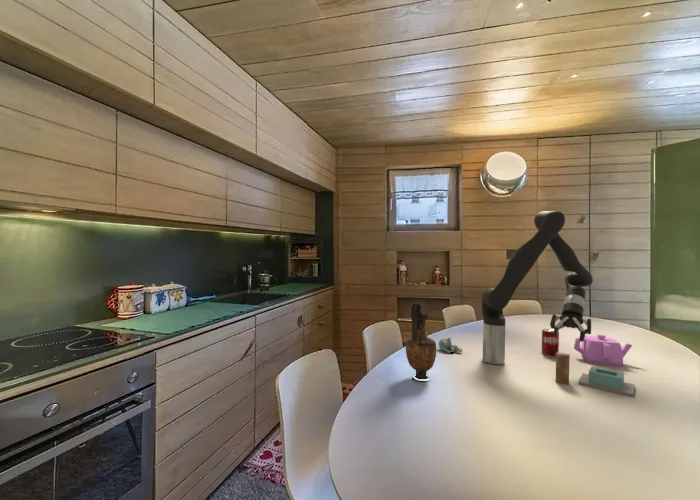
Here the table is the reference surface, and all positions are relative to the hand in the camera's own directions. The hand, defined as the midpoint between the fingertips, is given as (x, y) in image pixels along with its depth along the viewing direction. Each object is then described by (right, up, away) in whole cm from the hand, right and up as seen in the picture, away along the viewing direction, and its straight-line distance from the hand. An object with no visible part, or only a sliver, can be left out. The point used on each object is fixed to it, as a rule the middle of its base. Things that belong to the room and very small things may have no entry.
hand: (568, 338), depth 136 cm
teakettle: (+28, -16, +19) cm, 38 cm away
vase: (-63, -14, -8) cm, 64 cm away
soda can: (+9, -15, +27) cm, 32 cm away
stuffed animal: (-39, -15, +30) cm, 52 cm away
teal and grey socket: (+8, -15, -10) cm, 20 cm away
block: (-8, -15, -8) cm, 19 cm away
